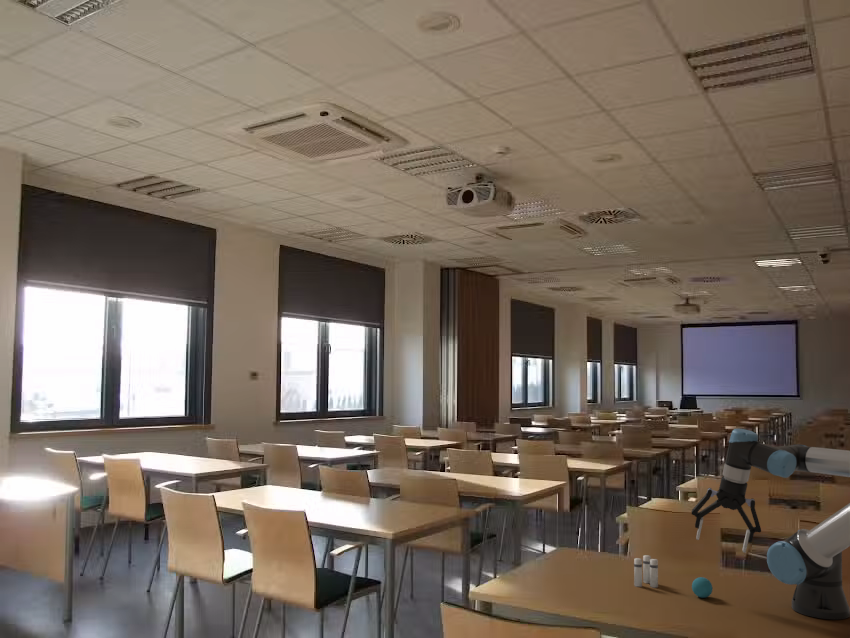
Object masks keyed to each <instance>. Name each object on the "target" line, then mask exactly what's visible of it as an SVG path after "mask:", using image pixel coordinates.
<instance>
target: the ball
mask: <svg viewBox="0 0 850 638" xmlns="http://www.w3.org/2000/svg"><path fill="white" fill-rule="evenodd" d="M691 589H692V592H693V593H694V595H696V596H697V597H698V598H701V599H705V598H709V597H710V596H711V595H712V593H713V584H712V582H711V581H710V580H709V579H708V578H706V577H701V576H700V577H696V578H695V579H694V580H693V581H692V583H691Z"/></svg>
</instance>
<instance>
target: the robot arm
mask: <svg viewBox="0 0 850 638" xmlns="http://www.w3.org/2000/svg"><path fill="white" fill-rule="evenodd" d="M730 434H731V435H730V437H729V441H728V445H727V452H726V457H725V460H724V465H723V470H722V476H721V479H720V483H719V487H718V490H714V489H712V487H708V488H707V491H706V493H705V495H704V496H703V497H701V499H700V500H699V501H698V503H696V504H695V506H694V507H693V508H692V509H691V515H692V516H694V517H695V518H696V519H695V523H694V526H695V527H694V528H695V529H697V532H696V540H697V541H699V540H700V537H701V532H702V528H703V527H702V526H703V523H704V517H705V516H707V515H708V514H710V513H712V512H713V511H714V510H716V509H718V508H720V507H723V509H730V510H731V511H736V510H737V513H739V514H740V516H741V518H742V520H743V522H744V523H745V525H746V527H747V529H746V531H745V537H744V540H743V545H742V553H744V554H746V552H747V547H748V543H753V539H754V534H755V533H761V532H762V528H761V525H760V521H759V518H758V514H757V510H756V500H755V499H754V498H753V497H752V498H746V494H747V493H746V492H747V488H748V483H747V482H749V480H750V474H751V469H752V467H754V468H757V469H759V470H761V471H765V472H766V473H769V474H772V475H773V476H776V477H777V476H778V477H781V478H783V479H785V478H786V479H787V478H789V477H790V476H792V475H793V473H795V472H796V471H797V472H805V473H816V474H822V475H823V474H824V475H830V476H839V477H847V478H850V450H846V449H835V448H826V447H817V446H816V447H815V446H807V445H804V444H792V445H791V444H790V445H782V446H781V445H780V446H771V445H768V444H765V443H763V442H760V441H758V440H759V435H758V434H757V432H754V431H752V430H749V429H746V428H734V429H733V430H732V431H731V433H730ZM714 496H716V498H717V499H716V500H715V501H713V502H712V503H711V504H709V505H707V506H706V507H705V508H703V507H704V505H705V504H706V503H707V502H708V501H709V500H710V498H713V497H714ZM745 503H746V504H747V506H748V508H750V511H751V515H752V518H753V522H754V525H755V526H753V523H751V520H750V519H749V517H748V516H747V513H746V512H745V510H744V508H743V505H745ZM702 508H703V509H702ZM701 509H702V510H701ZM849 547H850V502H849V503H848V504H846V505H845V506H843V507H842V508H841V509H839V510H837V511H836V512H834V513H833V514H831V515H830V516H828V517H827V518H825V519H824V520H823V521H821V522H819V524H817V525H815V526H813V528H811V529H808V528H807V529H806V528H800V529H798V530H797V531H795V533H793V534H792V535H790V536H789V537H787V538H786V539H783V540H781V541H780V540H779V541H778V540H777V542H774V543H772V544H771V545H770V546H769V548H768V550H767V553H766V562H767V567H768V569H769V570H770V573H771V574H772V575H773V577H775V579H777V580H778V581H779V582H781V583H783V584H786V585H789V586H790V585H796V587H795V590H794V593H793V595H792V598H791V609H792V610H793V611H794V612H796V613H798V614H801V615H804V616H808V617H812V618H818V619H824V620H846V619H848V618H850V605H849V604H848V601H847V597H846V594H845V592H844V588H843V551H845V550H846V549H848V548H849Z"/></svg>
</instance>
